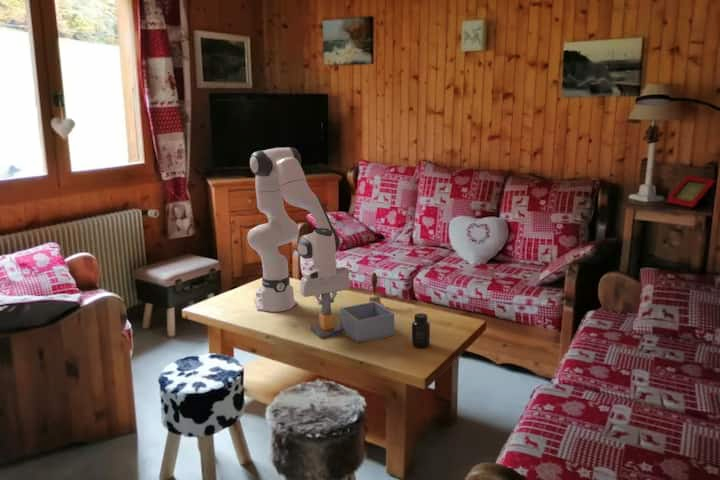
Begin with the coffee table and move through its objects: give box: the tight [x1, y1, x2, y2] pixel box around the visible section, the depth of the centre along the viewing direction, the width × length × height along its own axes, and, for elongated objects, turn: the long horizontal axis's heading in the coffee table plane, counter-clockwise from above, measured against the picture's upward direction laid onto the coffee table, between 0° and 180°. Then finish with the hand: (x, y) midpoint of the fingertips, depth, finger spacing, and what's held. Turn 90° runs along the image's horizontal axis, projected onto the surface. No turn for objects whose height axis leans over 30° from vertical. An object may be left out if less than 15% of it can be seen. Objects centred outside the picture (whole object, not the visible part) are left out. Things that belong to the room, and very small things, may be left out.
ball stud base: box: [310, 321, 345, 339], centre depth 235 cm, size 10×10×6 cm
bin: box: [339, 301, 395, 344], centre depth 234 cm, size 16×16×9 cm
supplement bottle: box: [411, 312, 431, 349], centre depth 221 cm, size 7×7×12 cm
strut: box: [318, 293, 335, 330], centre depth 234 cm, size 4×4×15 cm
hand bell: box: [368, 272, 385, 307], centre depth 260 cm, size 8×8×16 cm
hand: (326, 303), depth 233 cm, fingers closed on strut, 4 cm apart
